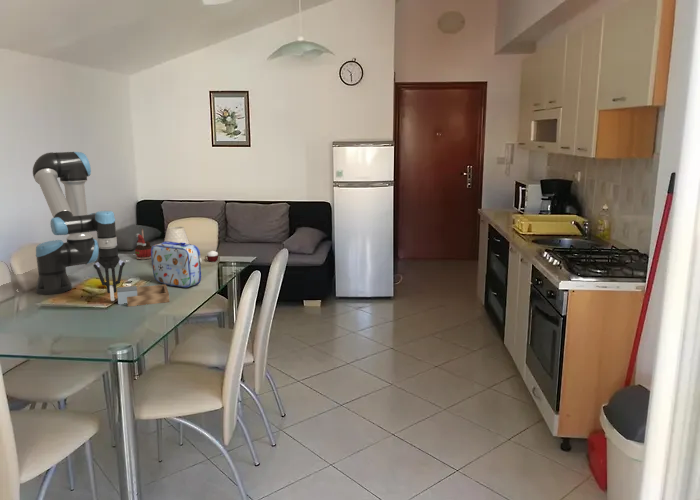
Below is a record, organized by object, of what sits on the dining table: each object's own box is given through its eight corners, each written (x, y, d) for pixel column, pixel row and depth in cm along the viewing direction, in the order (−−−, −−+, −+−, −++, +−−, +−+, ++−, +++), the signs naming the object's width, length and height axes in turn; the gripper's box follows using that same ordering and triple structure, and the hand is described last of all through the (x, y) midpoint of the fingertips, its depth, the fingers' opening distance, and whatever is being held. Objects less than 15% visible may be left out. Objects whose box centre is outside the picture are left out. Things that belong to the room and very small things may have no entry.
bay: (127, 306, 242) (126, 297, 241) (127, 296, 257) (126, 288, 256) (169, 302, 248) (168, 293, 247) (166, 292, 263) (165, 284, 262)
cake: (156, 258, 338) (154, 228, 334) (143, 261, 330) (141, 230, 327) (145, 256, 344) (142, 227, 340) (132, 259, 336) (129, 229, 332)
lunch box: (207, 285, 275) (204, 241, 271) (192, 290, 266) (189, 245, 262) (166, 279, 288) (163, 236, 284) (150, 283, 279) (147, 240, 275)
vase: (189, 273, 301) (186, 230, 296) (157, 273, 301) (153, 230, 296) (198, 265, 318) (196, 225, 313) (168, 265, 318) (165, 225, 313)
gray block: (118, 304, 245) (117, 291, 244) (118, 300, 251) (117, 287, 249) (138, 302, 248) (136, 289, 247) (137, 298, 254) (136, 285, 252)
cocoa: (204, 263, 325) (202, 243, 322) (206, 260, 331) (204, 240, 328) (221, 262, 326) (219, 242, 323) (223, 259, 332) (220, 239, 329)
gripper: (90, 249, 236) (96, 303, 241) (124, 247, 241) (128, 300, 246) (91, 246, 243) (96, 299, 248) (124, 244, 248) (128, 296, 252)
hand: (112, 299), depth 247 cm, fingers closed
